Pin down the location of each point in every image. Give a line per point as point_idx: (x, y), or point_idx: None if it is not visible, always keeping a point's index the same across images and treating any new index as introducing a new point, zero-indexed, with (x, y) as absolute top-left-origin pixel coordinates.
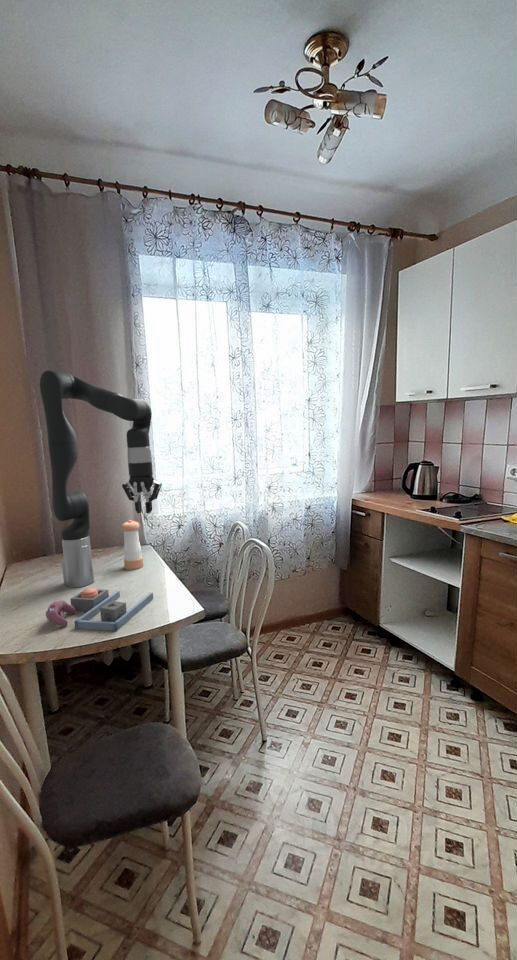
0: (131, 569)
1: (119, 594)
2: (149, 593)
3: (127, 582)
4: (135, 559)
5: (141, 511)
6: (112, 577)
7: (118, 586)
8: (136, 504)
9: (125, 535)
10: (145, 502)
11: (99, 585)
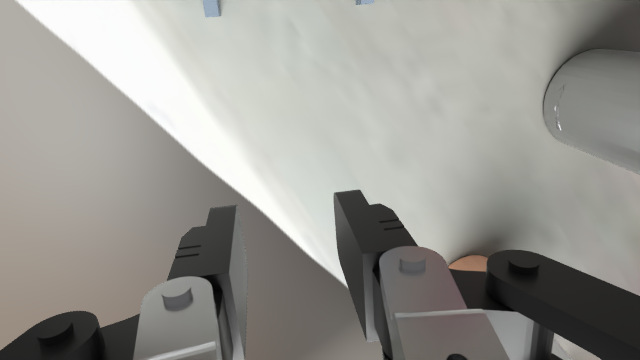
0: (463, 257)
1: (358, 1)
2: (214, 4)
3: (409, 144)
4: None
5: (339, 250)
6: (494, 175)
7: (422, 101)
8: (382, 234)
9: (561, 353)
10: (229, 277)
11: (502, 94)
